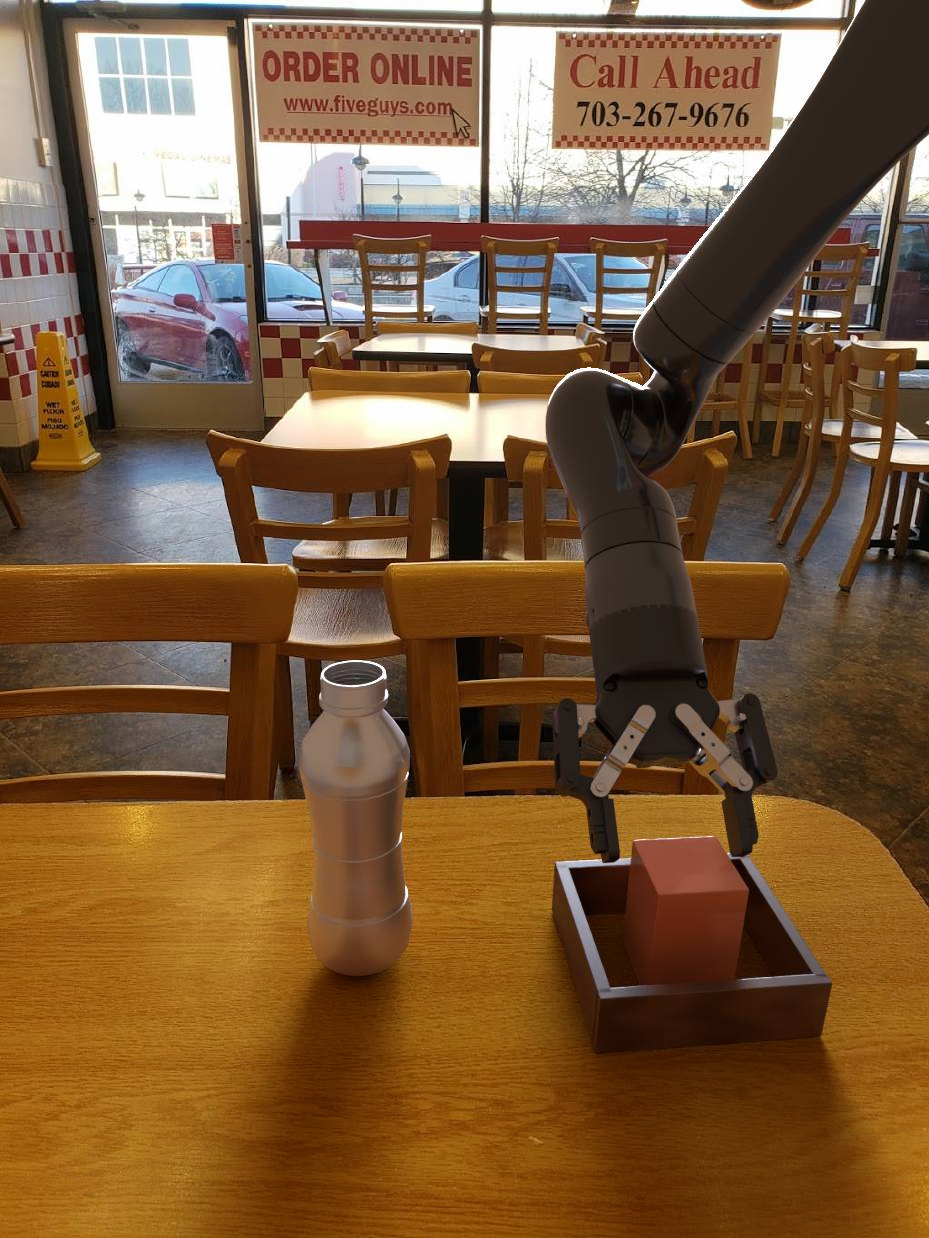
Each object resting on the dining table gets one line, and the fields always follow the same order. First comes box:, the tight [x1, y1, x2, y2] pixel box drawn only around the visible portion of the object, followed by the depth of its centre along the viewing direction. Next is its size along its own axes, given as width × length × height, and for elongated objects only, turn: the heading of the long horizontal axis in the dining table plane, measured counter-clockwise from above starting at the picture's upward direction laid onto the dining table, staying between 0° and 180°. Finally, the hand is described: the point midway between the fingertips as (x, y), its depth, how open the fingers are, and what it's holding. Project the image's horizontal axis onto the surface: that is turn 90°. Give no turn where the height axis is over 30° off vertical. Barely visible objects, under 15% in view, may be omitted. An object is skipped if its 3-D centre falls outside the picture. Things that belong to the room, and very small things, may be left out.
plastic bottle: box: [297, 660, 414, 977], centre depth 57 cm, size 6×7×20 cm
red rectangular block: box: [621, 835, 749, 986], centre depth 59 cm, size 6×6×8 cm
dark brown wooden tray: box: [551, 852, 833, 1054], centre depth 59 cm, size 14×13×4 cm
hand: (677, 858), depth 59 cm, fingers open, 8 cm apart
